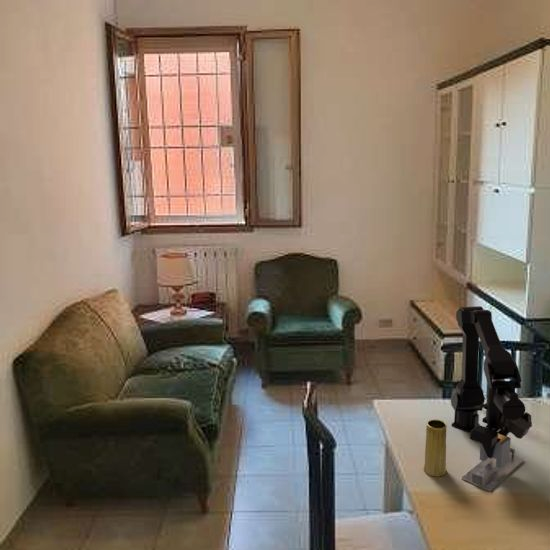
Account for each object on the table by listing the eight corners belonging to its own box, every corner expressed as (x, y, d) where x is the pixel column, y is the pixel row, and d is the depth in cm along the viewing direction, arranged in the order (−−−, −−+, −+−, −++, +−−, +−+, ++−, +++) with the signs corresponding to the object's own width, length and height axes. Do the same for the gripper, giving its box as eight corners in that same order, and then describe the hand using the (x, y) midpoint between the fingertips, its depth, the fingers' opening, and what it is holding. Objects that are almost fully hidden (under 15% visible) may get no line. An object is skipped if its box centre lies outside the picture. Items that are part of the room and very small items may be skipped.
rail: (461, 479, 152) (462, 470, 152) (497, 450, 166) (497, 442, 165) (489, 491, 147) (490, 483, 146) (524, 461, 160) (524, 452, 159)
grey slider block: (479, 459, 156) (481, 436, 154) (488, 452, 159) (489, 429, 158) (500, 468, 152) (502, 444, 150) (509, 460, 155) (510, 437, 153)
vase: (446, 466, 159) (448, 420, 155) (445, 478, 153) (447, 430, 150) (424, 462, 161) (426, 417, 157) (422, 474, 155) (424, 427, 152)
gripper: (511, 424, 139) (507, 480, 143) (543, 399, 152) (538, 451, 155) (469, 409, 147) (466, 463, 151) (503, 387, 160) (499, 437, 163)
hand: (494, 453), depth 155 cm, fingers closed on grey slider block, 5 cm apart
